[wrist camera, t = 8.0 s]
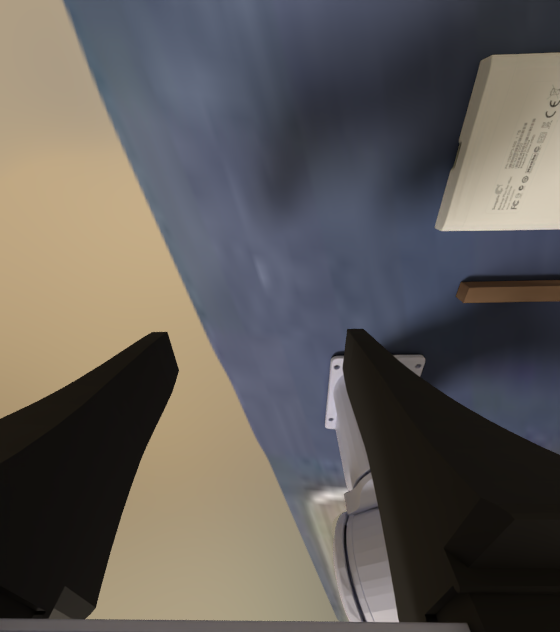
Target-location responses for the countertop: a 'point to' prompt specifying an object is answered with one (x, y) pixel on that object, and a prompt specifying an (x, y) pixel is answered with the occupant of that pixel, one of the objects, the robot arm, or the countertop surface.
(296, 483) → the countertop surface
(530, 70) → the external hard drive
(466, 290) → the dock
